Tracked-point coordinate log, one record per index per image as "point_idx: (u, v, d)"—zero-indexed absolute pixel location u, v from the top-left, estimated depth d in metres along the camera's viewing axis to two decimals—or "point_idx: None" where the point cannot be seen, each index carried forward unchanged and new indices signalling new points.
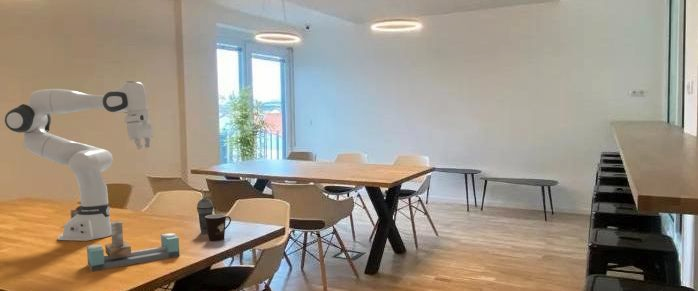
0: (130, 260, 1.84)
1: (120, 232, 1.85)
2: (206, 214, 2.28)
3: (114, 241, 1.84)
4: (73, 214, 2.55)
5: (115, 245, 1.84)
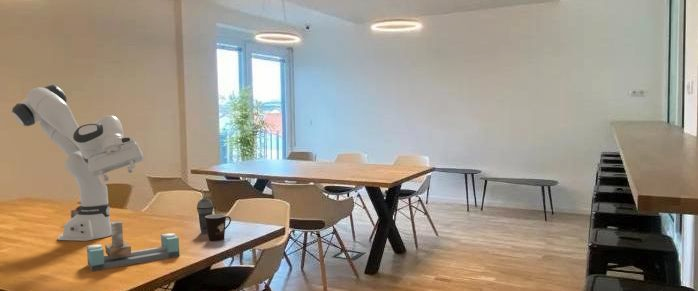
0: (130, 260, 1.84)
1: (120, 232, 1.85)
2: (206, 214, 2.28)
3: (114, 241, 1.84)
4: (73, 214, 2.55)
5: (115, 245, 1.84)
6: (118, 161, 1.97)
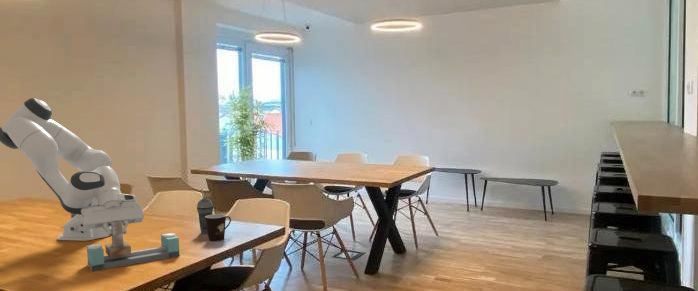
0: (130, 260, 1.84)
1: (120, 232, 1.85)
2: (206, 214, 2.28)
3: (114, 241, 1.84)
4: (73, 214, 2.55)
5: (115, 245, 1.84)
6: (119, 218, 1.88)
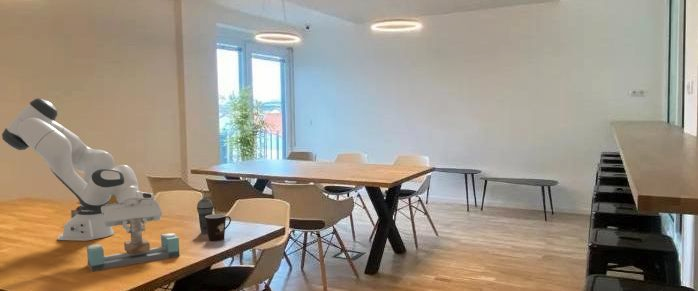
0: (130, 260, 1.84)
1: (139, 230, 1.89)
2: (206, 214, 2.28)
3: (133, 238, 1.88)
4: (73, 214, 2.55)
5: (134, 242, 1.88)
6: (138, 216, 1.91)
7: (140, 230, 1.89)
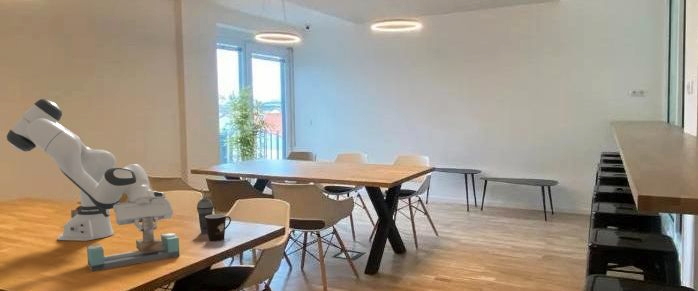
0: (130, 260, 1.84)
1: (151, 228, 1.91)
2: (206, 214, 2.28)
3: (145, 236, 1.90)
4: (73, 214, 2.55)
5: (146, 240, 1.90)
6: (150, 214, 1.94)
7: (152, 228, 1.91)
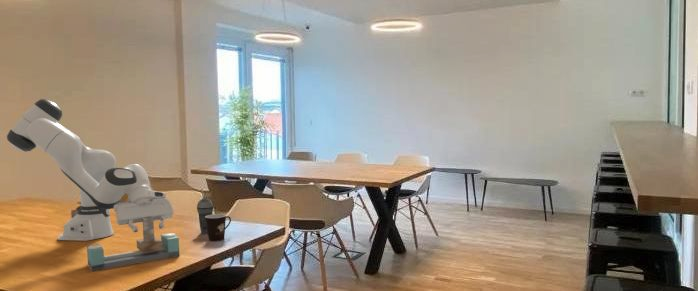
0: (130, 260, 1.84)
1: (151, 228, 1.91)
2: (206, 214, 2.28)
3: (146, 236, 1.90)
4: (74, 214, 2.55)
5: (147, 240, 1.90)
6: (150, 214, 1.94)
7: (152, 228, 1.91)
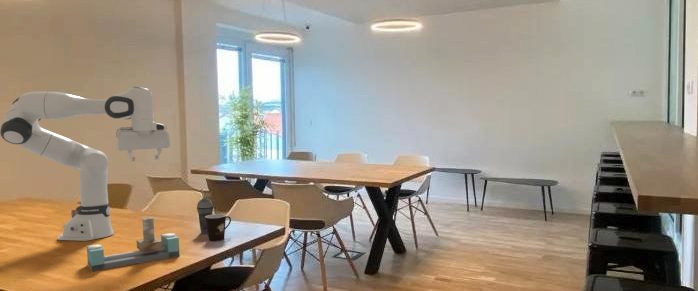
0: (130, 260, 1.84)
1: (151, 228, 1.91)
2: (206, 214, 2.28)
3: (146, 236, 1.90)
4: (74, 214, 2.55)
5: (147, 240, 1.90)
6: (149, 147, 2.09)
7: (152, 228, 1.91)
